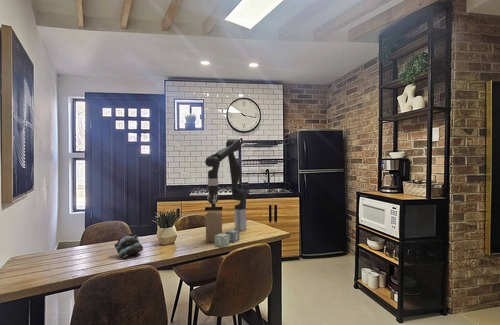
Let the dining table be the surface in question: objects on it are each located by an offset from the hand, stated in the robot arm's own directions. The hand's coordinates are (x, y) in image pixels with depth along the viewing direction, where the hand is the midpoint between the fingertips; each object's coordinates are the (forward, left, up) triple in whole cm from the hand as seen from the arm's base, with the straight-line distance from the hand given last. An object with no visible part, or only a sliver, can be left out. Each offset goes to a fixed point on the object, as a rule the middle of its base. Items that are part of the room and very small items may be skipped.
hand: (213, 208), depth 209 cm
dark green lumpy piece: (+52, -24, -23) cm, 62 cm away
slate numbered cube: (-6, +12, -23) cm, 27 cm away
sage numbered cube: (+6, +12, -23) cm, 27 cm away
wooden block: (0, 0, -23) cm, 23 cm away
